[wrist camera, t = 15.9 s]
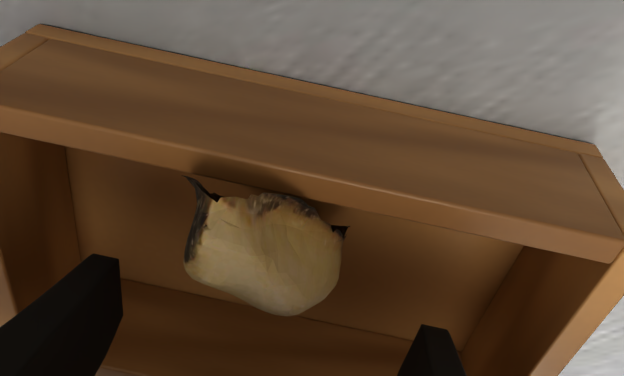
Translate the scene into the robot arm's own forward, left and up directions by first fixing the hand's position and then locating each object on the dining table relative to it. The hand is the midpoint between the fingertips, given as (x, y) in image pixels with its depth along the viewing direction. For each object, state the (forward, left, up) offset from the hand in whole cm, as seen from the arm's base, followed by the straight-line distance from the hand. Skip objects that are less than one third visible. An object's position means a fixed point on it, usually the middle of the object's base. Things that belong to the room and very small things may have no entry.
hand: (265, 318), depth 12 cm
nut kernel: (+1, +2, -2) cm, 3 cm away
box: (0, -1, -5) cm, 5 cm away
